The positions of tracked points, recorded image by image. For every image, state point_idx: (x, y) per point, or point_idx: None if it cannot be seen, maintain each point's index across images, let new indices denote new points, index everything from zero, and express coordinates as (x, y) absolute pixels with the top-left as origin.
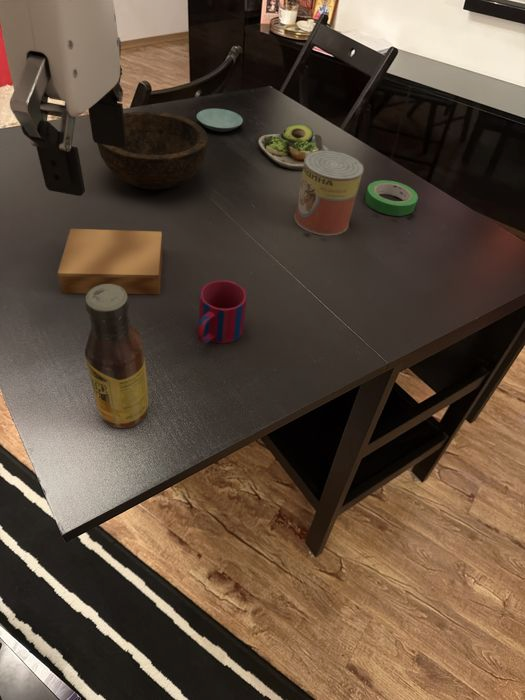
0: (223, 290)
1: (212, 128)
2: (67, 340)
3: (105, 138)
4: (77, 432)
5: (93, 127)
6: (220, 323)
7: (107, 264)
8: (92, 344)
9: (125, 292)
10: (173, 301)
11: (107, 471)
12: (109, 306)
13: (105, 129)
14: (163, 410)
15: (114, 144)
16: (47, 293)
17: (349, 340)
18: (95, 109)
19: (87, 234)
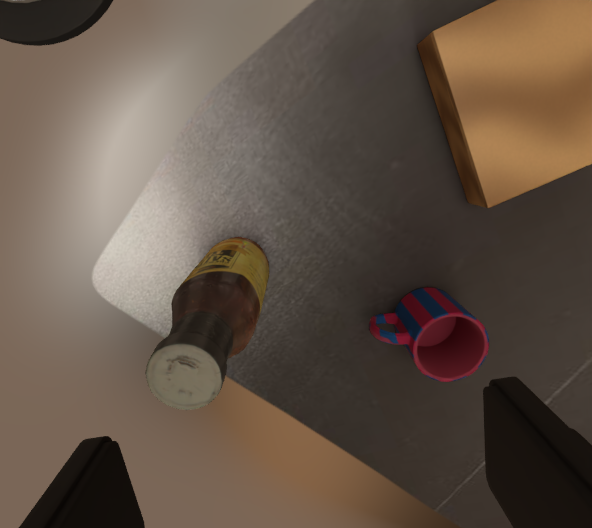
0: (474, 329)
1: None
2: (319, 122)
3: (496, 446)
4: (186, 229)
5: (516, 433)
6: (405, 344)
7: (488, 106)
8: (174, 313)
9: (210, 400)
10: (459, 229)
11: (157, 288)
12: (163, 395)
13: (519, 479)
14: None
15: (488, 461)
16: (407, 18)
17: (459, 468)
18: (579, 525)
19: (572, 9)
